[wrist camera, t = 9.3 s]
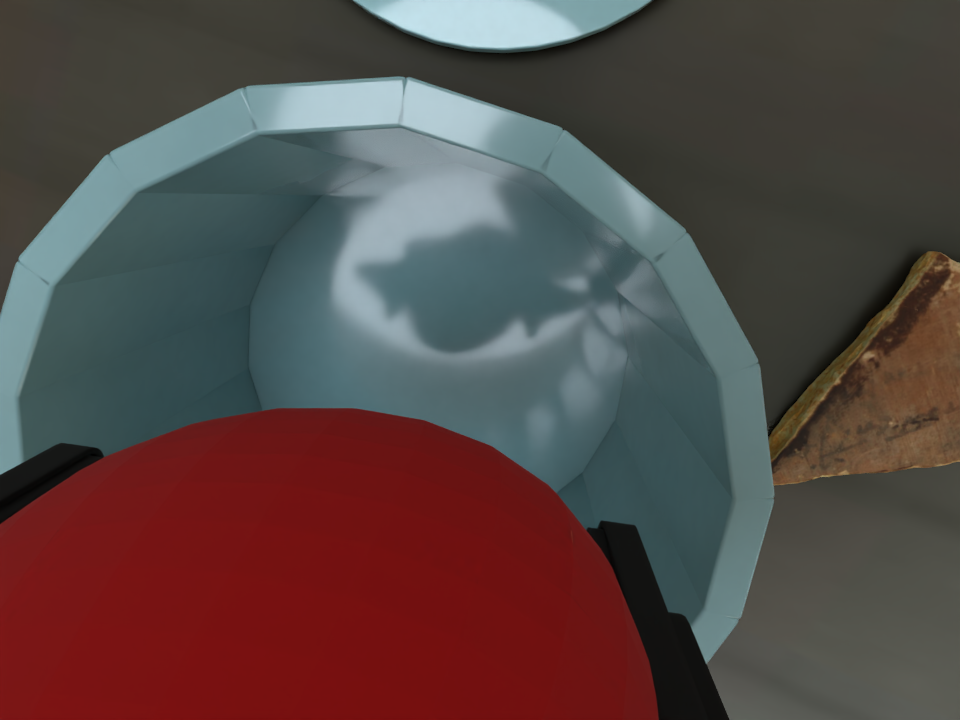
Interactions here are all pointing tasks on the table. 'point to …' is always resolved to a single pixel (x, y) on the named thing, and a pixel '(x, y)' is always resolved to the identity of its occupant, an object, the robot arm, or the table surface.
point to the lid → (501, 21)
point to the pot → (404, 310)
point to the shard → (884, 389)
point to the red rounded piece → (312, 583)
